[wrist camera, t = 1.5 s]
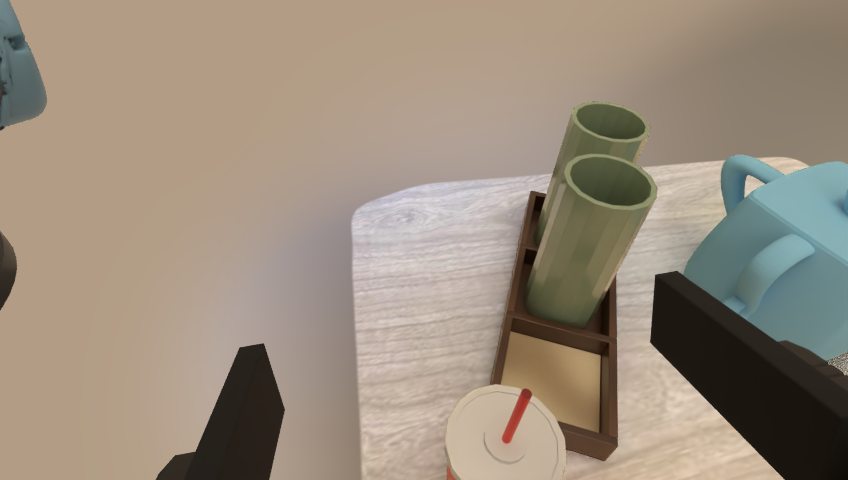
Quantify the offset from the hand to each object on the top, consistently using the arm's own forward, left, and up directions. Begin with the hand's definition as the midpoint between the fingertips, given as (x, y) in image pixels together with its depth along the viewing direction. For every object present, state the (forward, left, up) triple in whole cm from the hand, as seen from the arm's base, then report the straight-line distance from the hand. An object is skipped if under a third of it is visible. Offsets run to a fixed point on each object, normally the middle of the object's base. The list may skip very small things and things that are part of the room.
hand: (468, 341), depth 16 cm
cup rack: (-4, +19, -19) cm, 27 cm away
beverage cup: (+2, +3, -19) cm, 20 cm away
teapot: (+10, +35, -19) cm, 41 cm away
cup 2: (-4, +19, -19) cm, 27 cm away
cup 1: (-8, +26, -19) cm, 33 cm away
